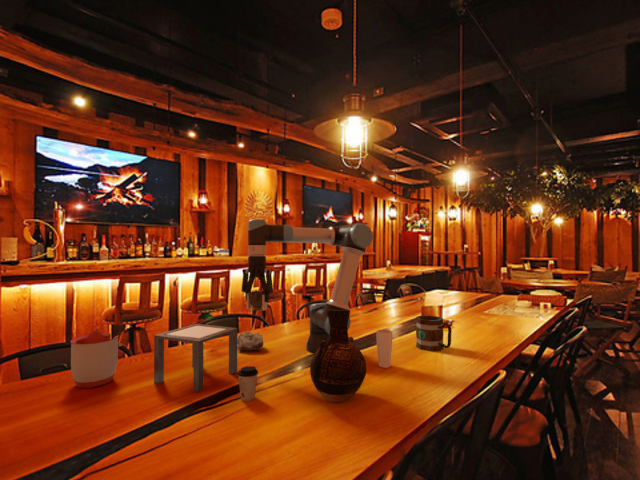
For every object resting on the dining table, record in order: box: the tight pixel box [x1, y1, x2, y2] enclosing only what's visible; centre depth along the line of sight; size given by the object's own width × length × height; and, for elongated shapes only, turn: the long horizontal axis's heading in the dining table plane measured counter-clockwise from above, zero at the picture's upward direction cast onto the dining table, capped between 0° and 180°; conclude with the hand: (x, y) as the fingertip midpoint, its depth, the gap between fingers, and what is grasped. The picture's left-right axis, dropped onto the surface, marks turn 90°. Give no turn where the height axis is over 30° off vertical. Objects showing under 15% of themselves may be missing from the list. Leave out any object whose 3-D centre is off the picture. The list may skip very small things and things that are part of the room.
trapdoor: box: [166, 326, 227, 339], centre depth 138 cm, size 17×16×1 cm
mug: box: [415, 315, 453, 352], centre depth 175 cm, size 20×14×15 cm
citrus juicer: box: [70, 329, 123, 389], centre depth 134 cm, size 16×17×20 cm
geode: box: [237, 331, 264, 352], centre depth 176 cm, size 17×9×15 cm
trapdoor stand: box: [153, 323, 238, 393], centre depth 138 cm, size 22×22×18 cm
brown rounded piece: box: [248, 289, 264, 311], centre depth 149 cm, size 8×7×8 cm
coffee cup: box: [237, 365, 259, 402], centre depth 119 cm, size 7×7×10 cm
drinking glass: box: [375, 329, 393, 369], centre depth 150 cm, size 7×7×15 cm
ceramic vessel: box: [309, 309, 367, 403], centre depth 119 cm, size 21×18×30 cm
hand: (257, 309), depth 149 cm, fingers closed on brown rounded piece, 7 cm apart
